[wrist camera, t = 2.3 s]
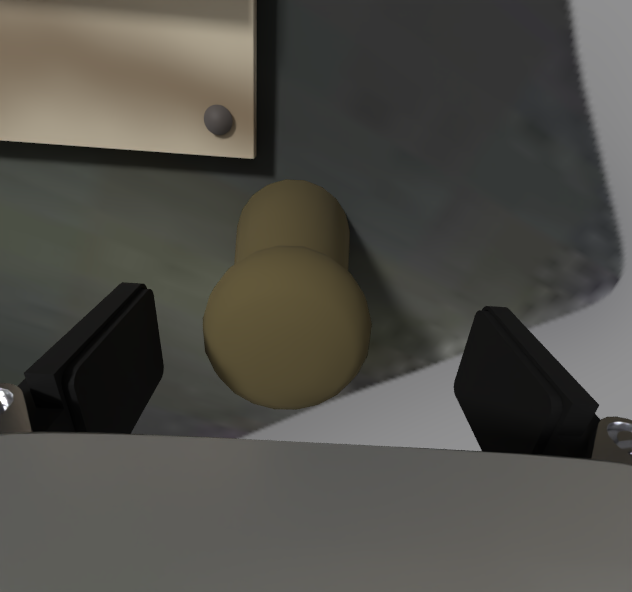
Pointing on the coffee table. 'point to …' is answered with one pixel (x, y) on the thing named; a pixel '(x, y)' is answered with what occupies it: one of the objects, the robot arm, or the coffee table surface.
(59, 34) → the pocket board
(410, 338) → the coffee table surface
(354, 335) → the olive tall rounded piece
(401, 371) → the coffee table surface
